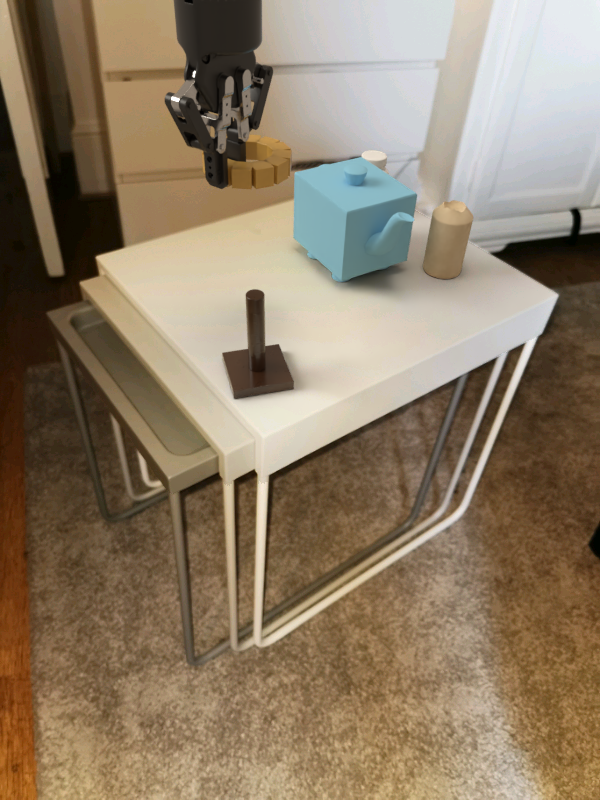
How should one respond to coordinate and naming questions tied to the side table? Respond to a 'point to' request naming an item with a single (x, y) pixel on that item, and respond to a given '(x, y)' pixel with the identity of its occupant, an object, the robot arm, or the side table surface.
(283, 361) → the post
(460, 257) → the candle
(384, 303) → the side table surface
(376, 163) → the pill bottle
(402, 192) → the teapot
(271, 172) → the ring
